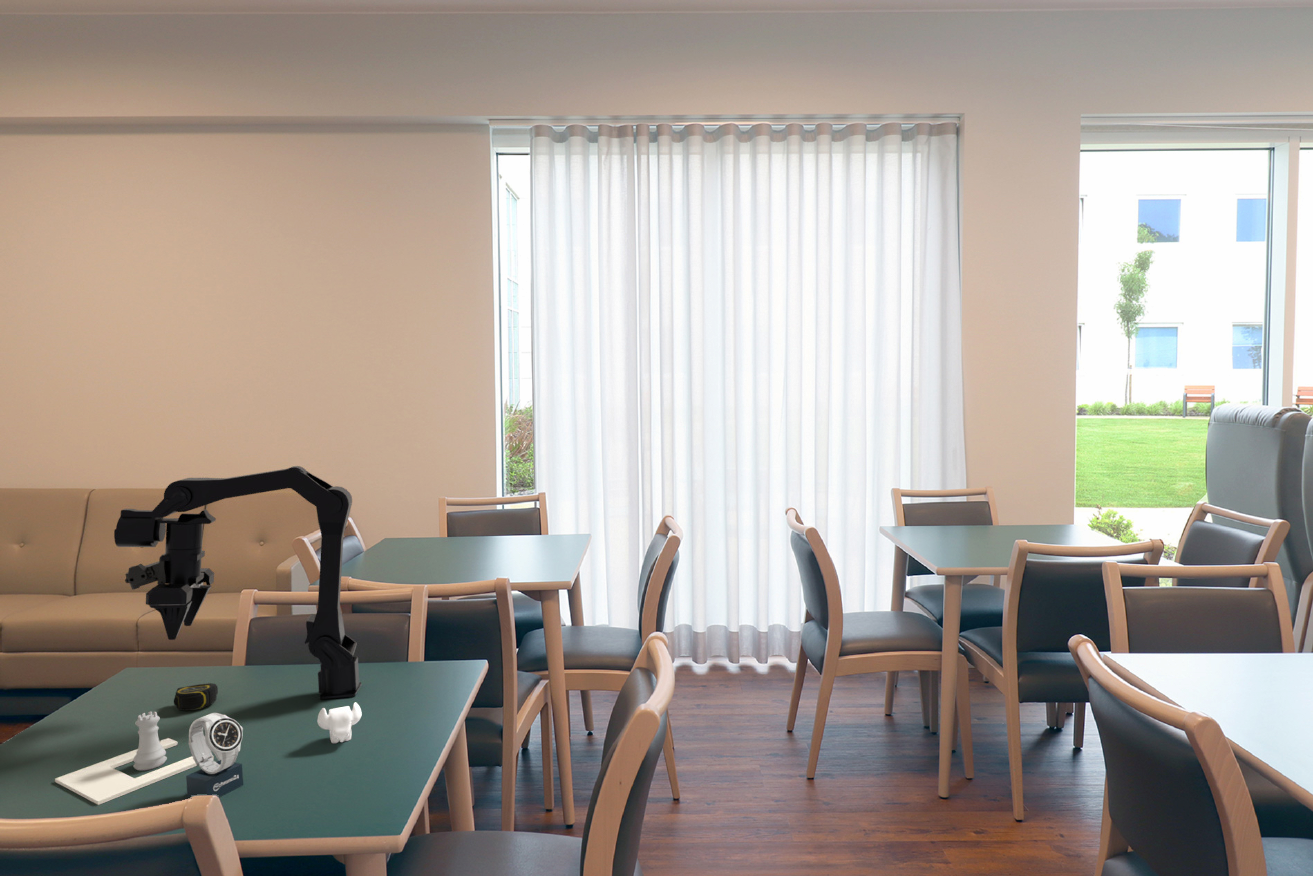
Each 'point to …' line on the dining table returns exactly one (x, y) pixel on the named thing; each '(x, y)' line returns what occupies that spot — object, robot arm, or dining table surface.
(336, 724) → the elephant figurine
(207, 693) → the tape measure
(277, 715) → the dining table surface
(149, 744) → the rook chess piece
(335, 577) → the robot arm
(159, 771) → the cream u-shaped flat bracket
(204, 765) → the watch
